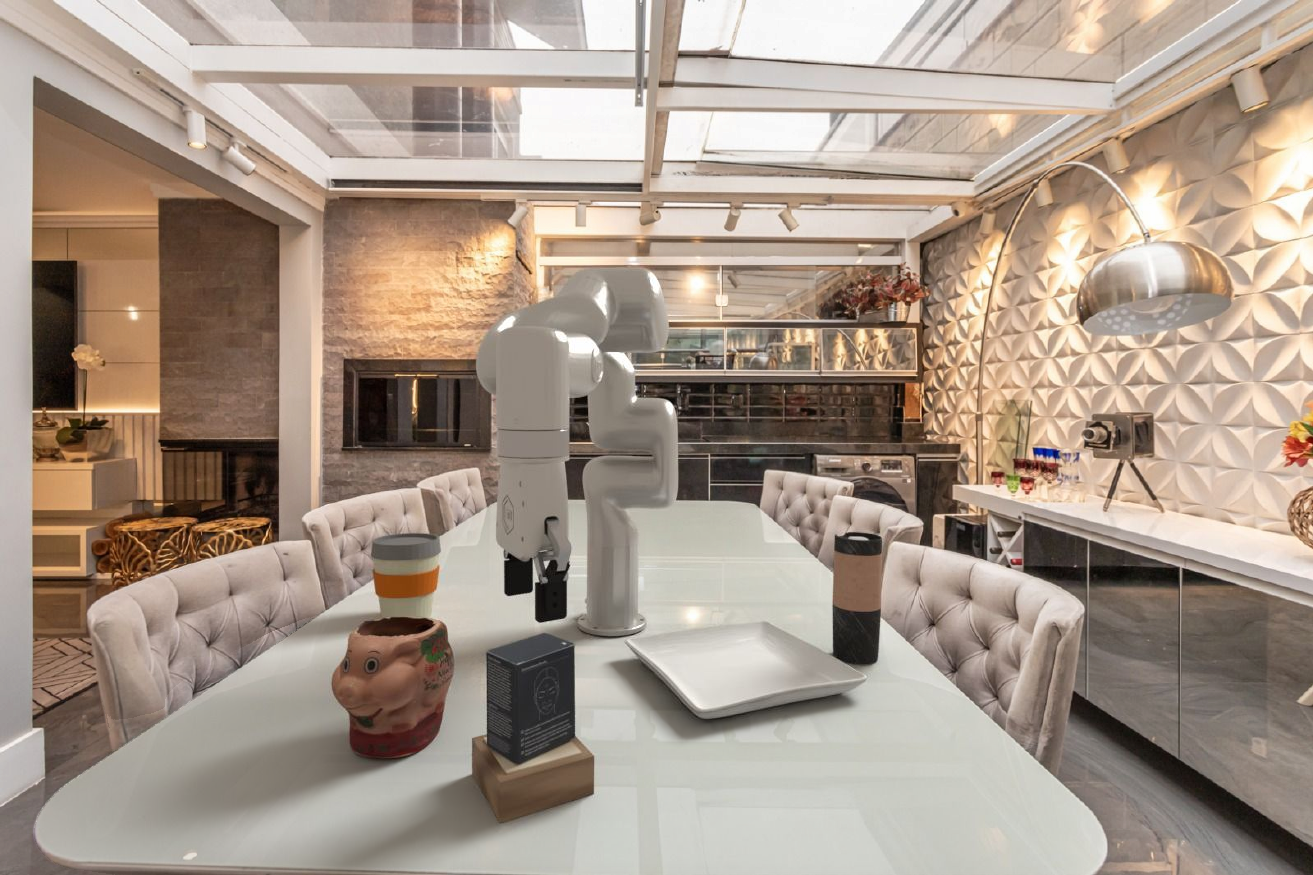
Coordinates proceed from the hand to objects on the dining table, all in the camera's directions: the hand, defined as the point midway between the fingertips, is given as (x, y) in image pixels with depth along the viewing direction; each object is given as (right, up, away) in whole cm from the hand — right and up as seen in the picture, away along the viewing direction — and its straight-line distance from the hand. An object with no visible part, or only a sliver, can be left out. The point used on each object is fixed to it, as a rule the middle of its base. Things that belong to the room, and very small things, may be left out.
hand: (533, 606), depth 70 cm
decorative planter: (-18, -19, +10) cm, 28 cm away
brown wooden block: (0, -19, 0) cm, 19 cm away
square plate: (+25, -19, +29) cm, 43 cm away
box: (0, -15, 0) cm, 15 cm away
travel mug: (+46, -18, +38) cm, 62 cm away
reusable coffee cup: (-35, -17, +56) cm, 68 cm away
